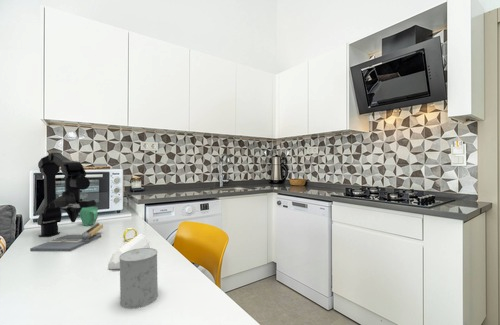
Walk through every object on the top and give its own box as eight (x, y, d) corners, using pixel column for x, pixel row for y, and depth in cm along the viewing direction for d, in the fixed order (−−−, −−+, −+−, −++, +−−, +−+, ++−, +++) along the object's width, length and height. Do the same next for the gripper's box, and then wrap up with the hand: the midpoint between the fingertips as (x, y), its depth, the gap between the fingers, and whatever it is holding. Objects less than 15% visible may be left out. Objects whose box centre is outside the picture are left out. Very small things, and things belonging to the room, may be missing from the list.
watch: (125, 243, 117) (124, 230, 117) (123, 241, 119) (121, 229, 119) (138, 239, 122) (137, 227, 121) (135, 237, 123) (134, 226, 123)
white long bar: (132, 260, 86) (155, 238, 110) (113, 250, 86) (141, 230, 110) (121, 279, 86) (147, 253, 110) (102, 269, 86) (133, 245, 110)
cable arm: (95, 228, 133) (95, 222, 133) (102, 228, 134) (102, 222, 134) (80, 239, 114) (80, 232, 114) (88, 238, 115) (88, 232, 115)
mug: (76, 225, 150) (75, 208, 150) (93, 222, 158) (93, 206, 158) (87, 228, 142) (86, 211, 142) (105, 225, 150) (104, 208, 150)
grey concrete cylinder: (162, 288, 74) (162, 247, 74) (150, 308, 64) (150, 260, 64) (129, 290, 73) (129, 248, 73) (113, 309, 64) (112, 261, 64)
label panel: (30, 251, 107) (30, 245, 107) (66, 236, 127) (66, 232, 127) (72, 251, 106) (72, 245, 106) (102, 237, 126) (102, 232, 126)
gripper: (37, 191, 109) (38, 226, 109) (79, 190, 108) (79, 226, 108) (58, 188, 120) (59, 220, 120) (96, 187, 119) (96, 220, 119)
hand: (73, 222), depth 116 cm, fingers closed
